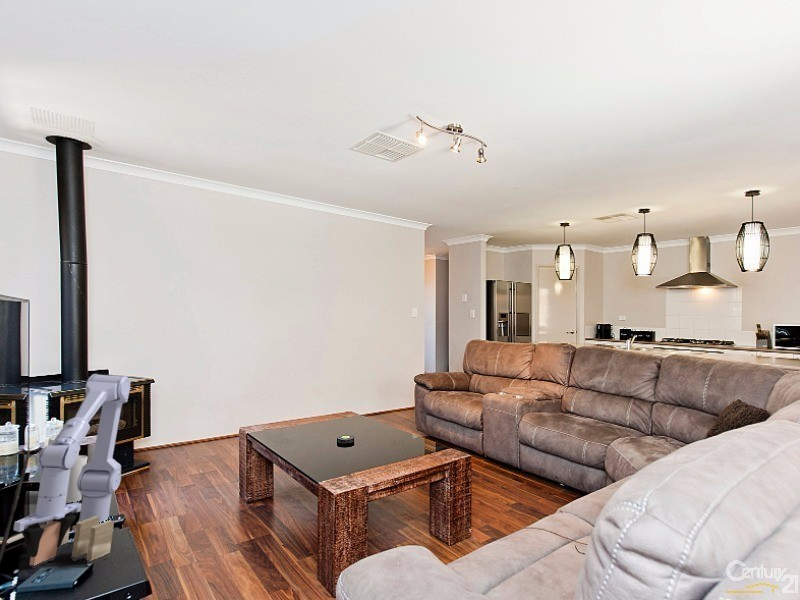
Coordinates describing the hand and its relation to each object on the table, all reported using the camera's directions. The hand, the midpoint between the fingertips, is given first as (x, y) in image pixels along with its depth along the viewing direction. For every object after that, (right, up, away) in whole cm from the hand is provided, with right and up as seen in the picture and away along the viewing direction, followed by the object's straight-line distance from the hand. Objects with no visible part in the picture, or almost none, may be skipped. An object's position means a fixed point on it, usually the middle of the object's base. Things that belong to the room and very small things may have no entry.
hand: (44, 550), depth 110 cm
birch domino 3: (+11, -4, +3) cm, 12 cm away
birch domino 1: (-3, -3, +7) cm, 9 cm away
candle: (-24, -4, +38) cm, 45 cm away
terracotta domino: (0, -3, 0) cm, 3 cm away
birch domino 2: (+6, -4, +4) cm, 9 cm away
